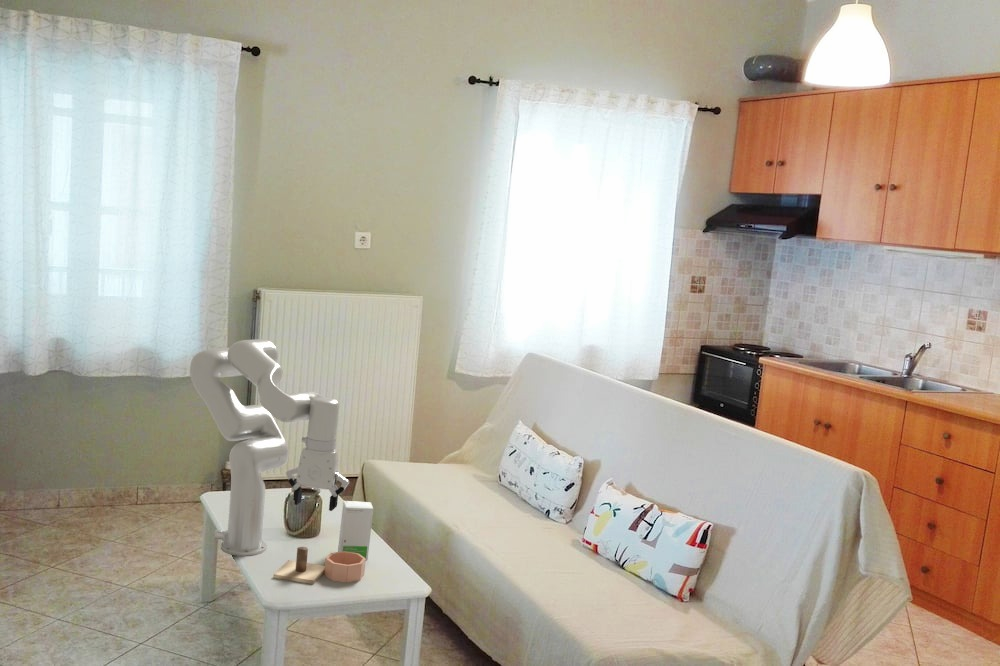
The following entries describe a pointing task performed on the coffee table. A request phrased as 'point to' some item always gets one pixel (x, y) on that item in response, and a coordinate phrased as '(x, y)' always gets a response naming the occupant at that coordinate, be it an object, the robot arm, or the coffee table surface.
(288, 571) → the lid
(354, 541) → the skincare box
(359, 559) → the bowl
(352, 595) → the coffee table surface
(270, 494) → the coffee table surface
